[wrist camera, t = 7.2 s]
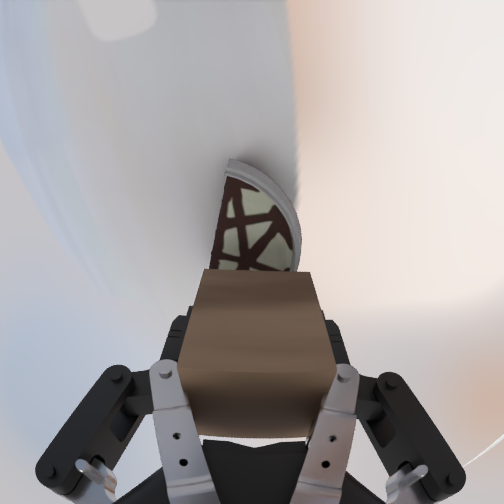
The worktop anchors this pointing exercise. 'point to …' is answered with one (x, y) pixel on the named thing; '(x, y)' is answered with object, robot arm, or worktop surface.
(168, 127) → the worktop surface
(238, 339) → the walnut block
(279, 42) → the worktop surface
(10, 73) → the worktop surface
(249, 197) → the food container
